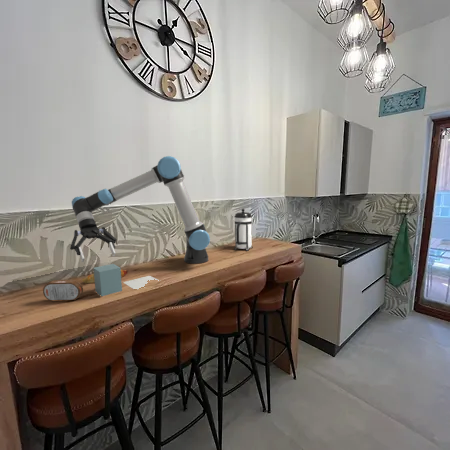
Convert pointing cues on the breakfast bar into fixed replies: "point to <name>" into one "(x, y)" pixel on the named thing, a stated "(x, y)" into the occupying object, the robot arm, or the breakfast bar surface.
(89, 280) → the croissant
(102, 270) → the grey-blue rectangular block
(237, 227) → the coffee press
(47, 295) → the tin
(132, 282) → the mat
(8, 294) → the breakfast bar surface
